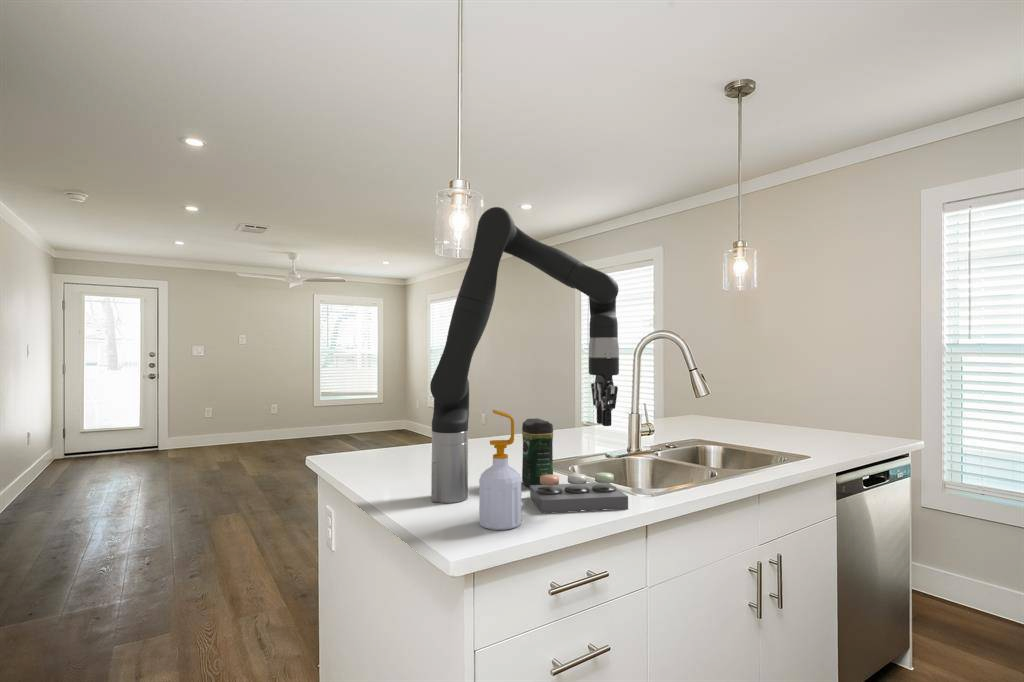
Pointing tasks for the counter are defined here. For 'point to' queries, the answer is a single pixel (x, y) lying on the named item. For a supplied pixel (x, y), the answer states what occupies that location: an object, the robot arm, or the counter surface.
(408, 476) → the counter surface
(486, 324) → the robot arm
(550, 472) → the coffee jar
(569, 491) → the button panel
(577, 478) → the white button
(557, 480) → the terracotta button
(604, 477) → the sage button
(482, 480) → the soap bottle
